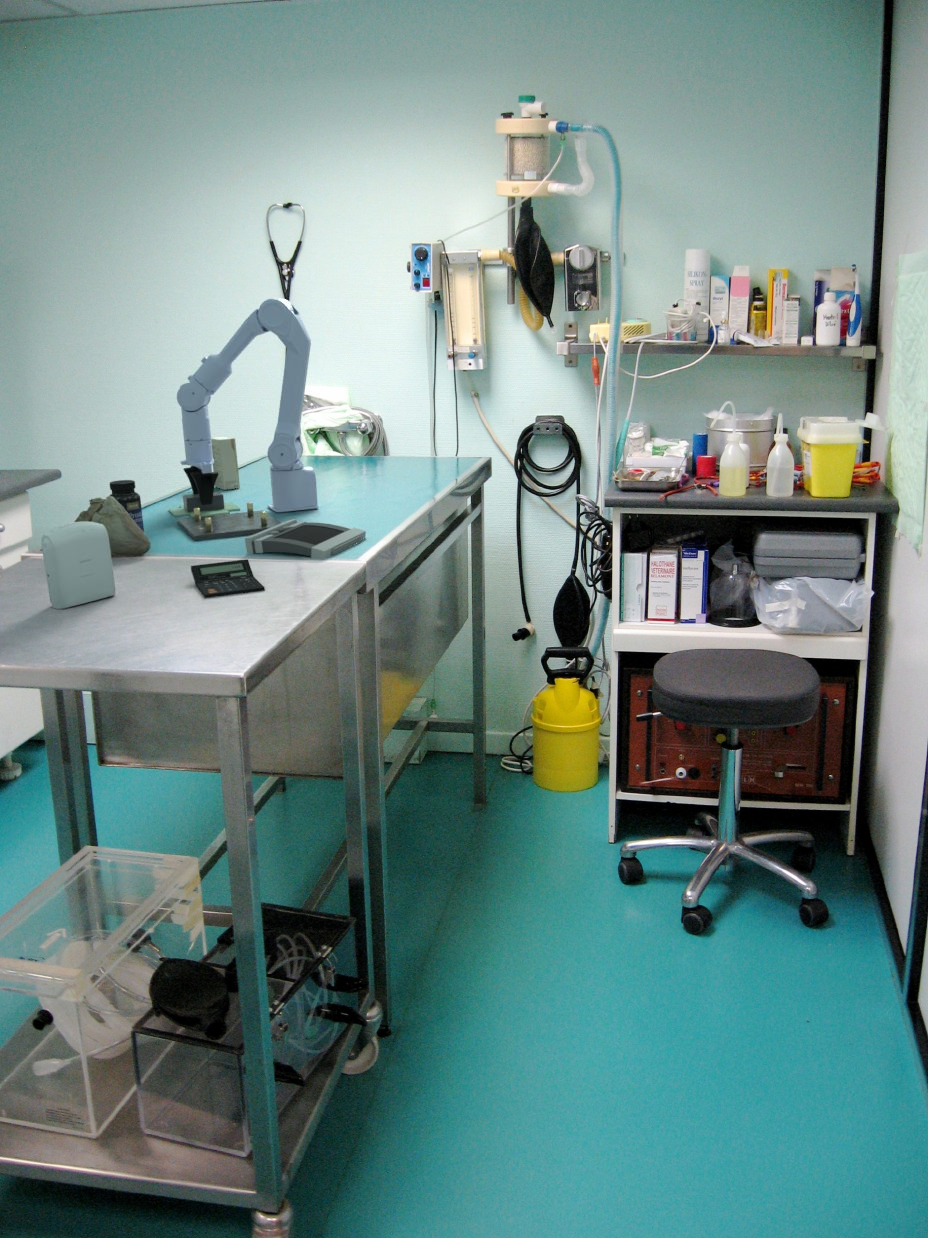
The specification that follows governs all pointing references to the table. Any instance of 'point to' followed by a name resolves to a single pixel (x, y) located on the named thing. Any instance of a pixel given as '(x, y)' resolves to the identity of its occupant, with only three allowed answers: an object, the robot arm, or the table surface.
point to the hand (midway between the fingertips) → (203, 501)
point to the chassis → (227, 524)
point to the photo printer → (78, 564)
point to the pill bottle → (128, 499)
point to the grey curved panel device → (304, 539)
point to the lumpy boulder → (117, 527)
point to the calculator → (225, 578)
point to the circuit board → (206, 512)
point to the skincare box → (225, 462)
